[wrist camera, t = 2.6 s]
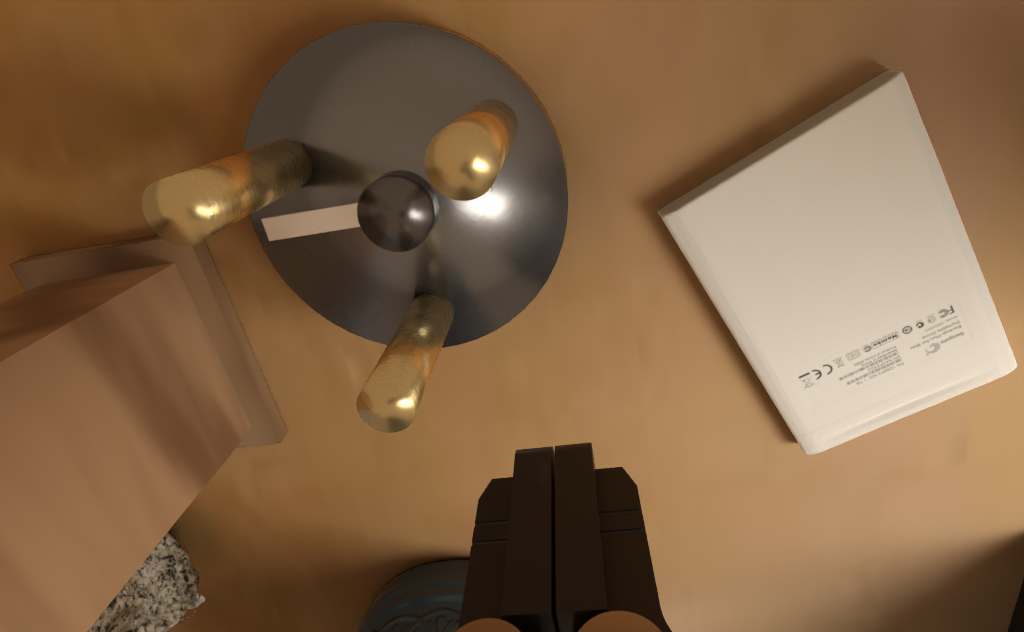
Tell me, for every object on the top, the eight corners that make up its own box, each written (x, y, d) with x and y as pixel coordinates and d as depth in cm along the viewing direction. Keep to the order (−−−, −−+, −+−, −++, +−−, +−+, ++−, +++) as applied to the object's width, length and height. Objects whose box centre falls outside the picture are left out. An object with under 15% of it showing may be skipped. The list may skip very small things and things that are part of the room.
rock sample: (88, 467, 23) (2, 705, 21) (252, 478, 29) (198, 662, 27) (-1, 429, 28) (-76, 615, 26) (153, 445, 35) (102, 596, 33)
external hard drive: (880, 67, 18) (994, 349, 22) (654, 206, 21) (793, 436, 25) (908, 70, 17) (1025, 370, 20) (661, 219, 19) (807, 461, 23)
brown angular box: (193, 216, 22) (-171, 386, 11) (287, 432, 26) (95, 705, 15) (19, 245, 23) (-463, 426, 12) (137, 447, 27) (-139, 710, 16)
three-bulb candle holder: (541, -11, 17) (527, -47, 10) (585, 310, 22) (596, 434, 15) (217, 59, 19) (19, 69, 12) (322, 344, 23) (224, 468, 16)
